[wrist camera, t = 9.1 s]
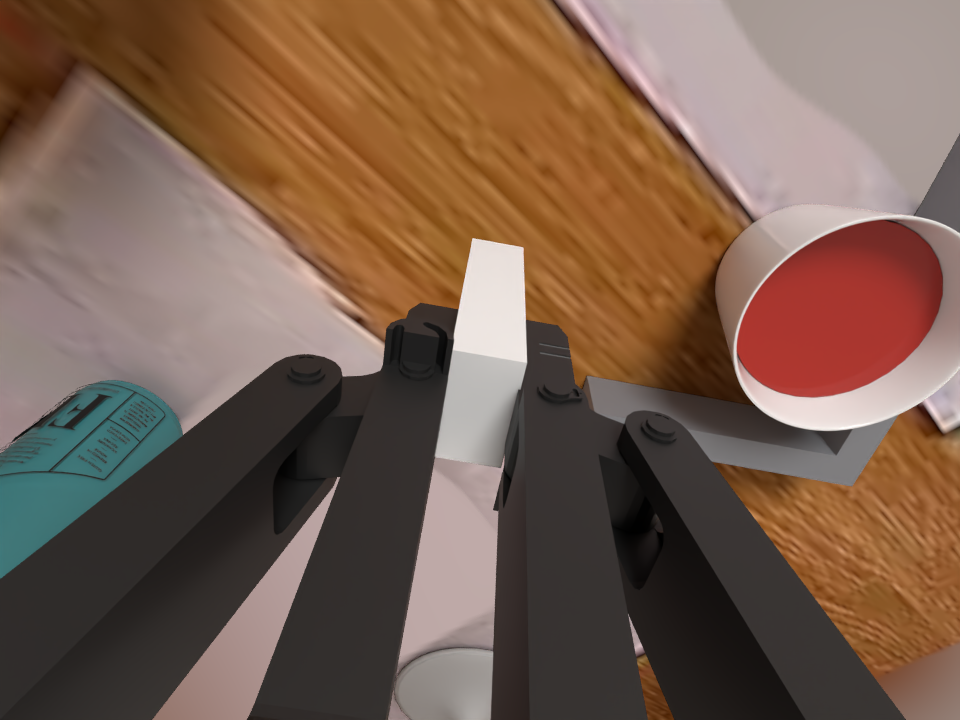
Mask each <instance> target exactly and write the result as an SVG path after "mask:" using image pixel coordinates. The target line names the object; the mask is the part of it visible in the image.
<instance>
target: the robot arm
mask: <svg viewBox="0 0 960 720" xmlns="http://www.w3.org/2000/svg"><path fill="white" fill-rule="evenodd" d="M570 357H571V356H570V350H569V343H568V337H567V336H566V334H565V333H564V332H563V331H562V330H561V329H560V328H559V326H557V325H552V324H546V323H540V322H535V321H529V320H526V315H525V286H524V257H523V247H518V246H513V245H507V244H502V243H496V242H491V241H485V240H480V239H474V238H473V239H472V244H471V250H470V255H469V260H468V265H467V270H466V275H465V280H464V285H463V290H462V295H461V301H460V306H459V310H458V309H453V308H447V307H441V306H436V305H430V304H424V303H420V304H418V305H417V306H415V307H414V308H412V309H411V310H409V312H408V315H407V318H406V319H400V320H397V321H395V322H392V323H391V324H390V325H389V326H388V327H387V329H386V339H385V349H384V360H383V366H382V369H381V371H378V372H376V373H373V374H369V375H364V376H347V377H342V372H341V368H340V367H339V366H338V365H337V364H336V363H335V362H334V361H332V360H329V359H327V358H325V357H321V356H316V355H309V354H307V355H305V354H302V355H295V356H290V357H286V358H284V359H282V360H280V361H278V362H276V363H274V364H273V365H272V366H271V367H269V368H268V369H267V370H266V371H264V372H263V373H262V374H260V375H259V376H258V377H257V378H255V379H254V380H253V381H252V382H250V383H249V384H248V385H246V386H245V387H244V388H243V389H241V390H240V391H239V392H238V393H236V394H235V395H234V396H233V397H231V398H230V399H229V400H228V401H226V402H225V403H224V404H222V405H221V406H220V407H218V408H217V409H216V410H215V411H213V412H212V413H211V414H210V415H208V416H207V417H206V418H204V419H203V420H202V421H201V422H199V423H198V424H197V425H196V426H194V427H193V428H192V429H190V430H189V431H188V432H187V433H185V434H184V435H183V436H182V437H180V438H179V439H178V440H176V441H175V442H174V443H173V444H171V445H170V446H169V447H168V448H166V449H165V450H164V451H162V452H161V453H160V454H159V455H157V456H156V457H155V458H154V459H152V460H151V461H150V462H148V463H147V464H146V465H145V466H143V467H142V468H141V469H140V470H138V471H137V472H136V473H134V474H133V475H132V476H131V477H129V478H128V479H127V480H126V481H124V482H123V483H122V484H120V485H119V486H118V487H117V488H115V489H114V490H113V491H111V492H110V493H109V494H108V495H106V496H105V497H104V498H103V499H101V500H100V501H99V502H97V503H96V504H95V505H94V506H92V507H91V508H90V509H89V510H87V511H86V512H85V513H83V514H82V515H81V516H80V517H78V518H77V519H76V520H75V521H73V522H72V523H71V524H69V525H68V526H67V527H66V528H64V529H63V530H62V531H61V532H59V533H58V534H57V535H55V536H54V537H53V538H52V539H50V540H49V541H48V542H47V543H45V544H44V545H43V546H41V547H40V548H39V549H38V550H36V551H35V552H34V553H33V554H31V555H30V556H29V557H27V558H26V559H25V560H24V561H22V562H21V563H20V564H19V565H17V566H16V567H15V568H13V569H12V570H11V571H10V572H8V573H7V574H6V575H5V576H3V577H2V578H1V579H0V720H152V719H153V718H154V716H155V715H156V714H157V713H158V711H159V710H160V709H161V707H162V706H163V705H164V703H165V702H166V701H167V700H168V698H169V697H170V696H171V695H172V693H173V692H174V691H175V689H176V688H177V687H178V685H179V684H180V683H181V682H182V680H183V679H184V678H185V677H186V675H187V674H188V673H189V671H190V670H191V669H192V668H193V666H194V665H195V664H196V662H197V661H198V660H199V658H200V657H201V656H202V655H203V653H204V652H205V651H206V650H207V648H208V647H209V646H210V644H211V643H212V642H213V641H214V639H215V638H216V637H217V635H218V634H219V633H220V632H221V630H222V629H223V628H224V626H225V625H226V624H227V622H228V621H229V620H230V619H231V617H232V616H233V615H234V614H235V612H236V611H237V610H238V608H239V607H240V606H241V604H242V603H243V602H244V601H245V599H246V598H247V597H248V596H249V594H250V593H251V592H252V590H253V589H254V588H255V587H256V585H257V584H258V583H259V581H260V580H261V579H262V578H263V576H264V575H265V574H266V572H267V571H268V570H269V569H270V567H271V566H272V565H273V563H274V562H275V561H276V560H277V558H278V557H279V556H280V554H281V553H282V552H283V551H284V549H285V548H286V547H287V545H288V544H289V543H290V541H291V540H292V539H293V538H294V536H295V535H296V534H297V532H298V531H299V530H300V529H301V527H302V526H303V525H304V524H305V522H306V521H307V520H308V518H309V517H310V516H311V515H312V513H313V512H314V511H315V509H316V508H317V507H318V505H319V504H320V503H321V502H322V500H323V499H324V498H325V497H326V495H327V494H328V493H329V491H330V490H331V489H332V488H333V486H334V484H335V481H336V479H337V477H340V479H339V482H338V485H337V487H336V490H335V493H334V496H333V498H332V500H331V503H330V506H329V508H328V511H327V514H326V517H325V519H324V522H323V524H322V527H321V530H320V532H319V535H318V538H317V540H316V543H315V545H314V548H313V551H312V553H311V556H310V559H309V561H308V564H307V567H306V569H305V572H304V574H303V577H302V580H301V582H300V585H299V588H298V590H297V593H296V595H295V598H294V601H293V603H292V606H291V609H290V611H289V614H288V617H287V619H286V622H285V624H284V627H283V630H282V633H281V635H280V638H279V640H278V643H277V646H276V648H275V651H274V654H273V656H272V659H271V661H270V664H269V667H268V669H267V672H266V675H265V677H264V680H263V683H262V685H261V688H260V691H259V693H258V696H257V698H256V701H255V704H254V706H253V708H252V711H251V713H250V715H249V717H248V718H247V720H388V716H389V710H390V705H391V699H392V693H393V688H394V682H395V677H396V671H397V666H398V660H399V654H400V649H401V643H402V638H403V632H404V626H405V620H406V616H407V610H408V604H409V599H410V593H411V587H412V582H413V576H414V571H415V566H416V560H417V554H418V549H419V543H420V538H421V532H422V527H423V521H424V515H425V510H426V504H427V499H428V493H429V488H430V482H431V476H432V471H433V465H434V459H435V457H438V458H444V459H450V460H456V461H462V462H468V463H474V464H480V465H486V466H492V467H498V468H501V466H502V462H503V458H504V454H505V460H504V469H503V473H502V477H501V481H500V485H499V489H498V492H497V496H496V500H495V504H494V508H493V510H495V511H498V510H499V513H498V539H497V566H496V593H495V594H496V595H495V618H494V645H493V671H492V697H491V720H648V718H647V713H646V708H645V702H644V697H643V692H642V686H641V681H640V675H639V670H638V665H637V659H636V654H635V649H634V643H633V638H632V633H631V627H630V622H629V617H630V619H631V621H632V623H633V626H634V628H635V630H636V633H637V635H638V637H639V639H640V642H641V644H642V646H643V649H644V651H645V653H646V655H647V658H648V660H649V662H650V665H651V667H652V669H653V671H654V674H655V676H656V678H657V681H658V683H659V685H660V688H661V690H662V692H663V694H664V697H665V699H666V701H667V704H668V706H669V708H670V710H671V713H672V715H673V717H674V720H906V719H905V718H904V716H903V715H902V714H901V713H900V711H899V710H898V708H897V707H896V706H895V704H894V703H893V702H892V701H891V699H890V698H889V697H888V695H887V694H886V693H885V691H884V690H883V689H882V687H881V686H880V685H879V683H878V682H877V681H876V679H875V678H874V677H873V675H872V674H871V673H870V671H869V670H868V669H867V667H866V666H865V665H864V663H863V662H862V661H861V659H860V658H859V657H858V655H857V654H856V653H855V651H854V650H853V649H852V647H851V646H850V645H849V643H848V642H847V641H846V639H845V638H844V637H843V635H842V634H841V633H840V631H839V630H838V629H837V627H836V626H835V625H834V623H833V622H832V621H831V619H830V618H829V617H828V616H827V614H826V613H825V612H824V610H823V609H822V608H821V606H820V605H819V604H818V602H817V601H816V600H815V598H814V597H813V596H812V594H811V593H810V592H809V590H808V589H807V588H806V586H805V585H804V584H803V582H802V581H801V580H800V578H799V577H798V576H797V574H796V573H795V572H794V570H793V569H792V568H791V566H790V565H789V564H788V562H787V561H786V560H785V558H784V557H783V556H782V554H781V553H780V552H779V550H778V549H777V548H776V546H775V545H774V544H773V542H772V541H771V540H770V539H769V537H768V536H767V535H766V533H765V532H764V531H763V529H762V528H761V527H760V525H759V524H758V523H757V521H756V520H755V519H754V517H753V516H752V515H751V513H750V512H749V511H748V509H747V508H746V507H745V505H744V504H743V503H742V501H741V500H740V499H739V497H738V496H737V495H736V493H735V492H734V491H733V489H732V488H731V487H730V485H729V484H728V483H727V481H726V480H725V479H724V477H723V476H722V475H721V473H720V472H719V471H718V469H717V468H716V467H715V465H714V464H713V463H712V461H711V460H710V459H709V458H708V456H707V455H706V454H705V452H704V451H703V450H702V448H701V447H700V446H699V444H698V443H697V442H696V440H695V439H694V438H693V436H692V435H691V434H690V432H689V431H688V430H687V429H686V428H685V427H684V426H683V425H682V424H681V423H679V422H677V421H676V420H674V419H672V418H671V417H669V416H667V415H665V414H662V413H659V412H653V411H647V410H642V411H634V412H632V413H631V414H629V415H627V417H626V420H625V423H624V424H623V423H620V422H618V421H615V420H612V419H610V418H607V417H605V416H603V415H600V414H598V413H596V412H595V411H593V410H592V409H590V408H589V402H588V398H587V396H586V394H585V392H584V391H583V390H582V389H581V388H579V387H578V386H577V385H576V384H575V380H574V374H573V368H572V362H571V359H570ZM628 614H629V617H628Z"/></svg>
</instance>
